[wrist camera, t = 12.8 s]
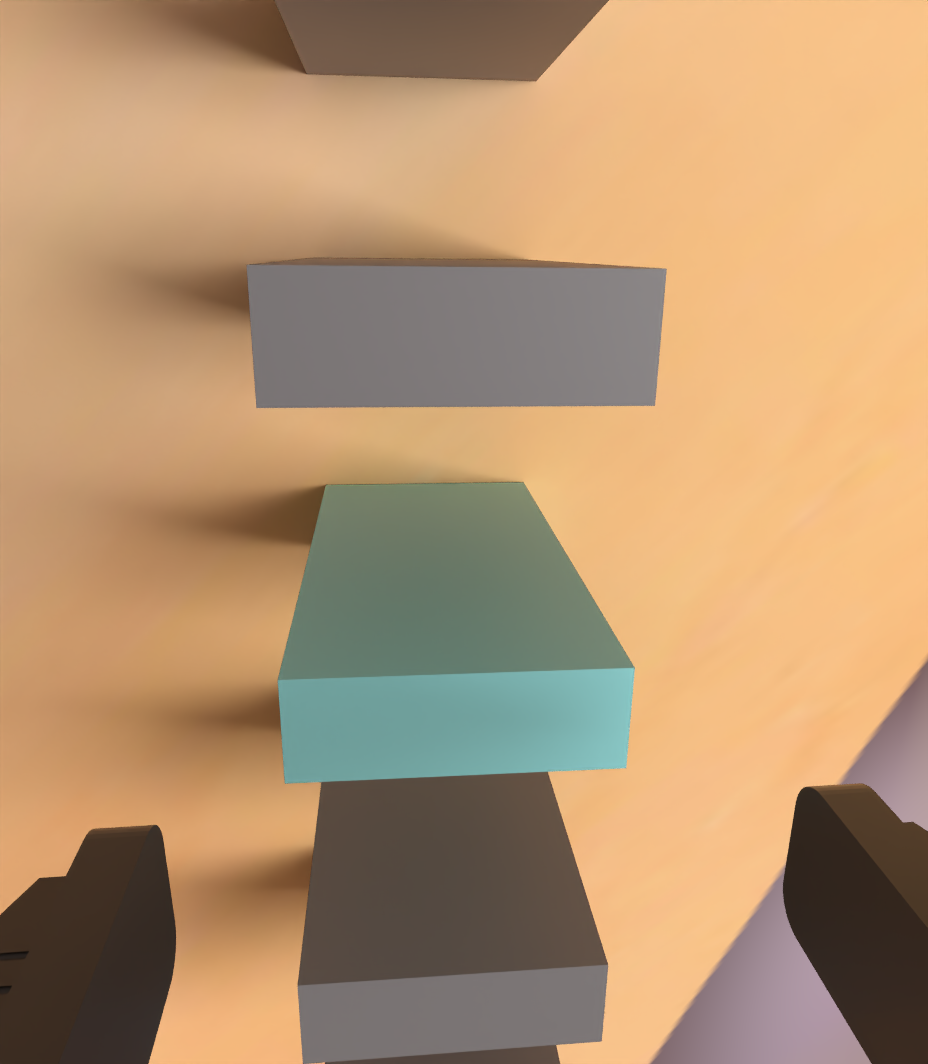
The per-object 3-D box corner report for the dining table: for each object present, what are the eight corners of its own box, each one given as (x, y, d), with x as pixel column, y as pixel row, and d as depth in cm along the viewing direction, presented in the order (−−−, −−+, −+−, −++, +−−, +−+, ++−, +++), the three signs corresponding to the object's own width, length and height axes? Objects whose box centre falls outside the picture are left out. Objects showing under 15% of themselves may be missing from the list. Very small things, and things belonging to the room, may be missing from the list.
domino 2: (514, 724, 28) (601, 1041, 17) (336, 731, 28) (303, 1064, 16) (516, 671, 28) (607, 964, 16) (333, 678, 27) (297, 986, 16)
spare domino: (325, 484, 25) (277, 679, 14) (523, 481, 25) (634, 667, 14) (328, 547, 26) (284, 783, 14) (521, 543, 26) (625, 767, 15)
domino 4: (527, 332, 24) (655, 406, 13) (317, 331, 24) (256, 408, 12) (530, 260, 23) (666, 268, 12) (314, 257, 23) (246, 264, 12)
